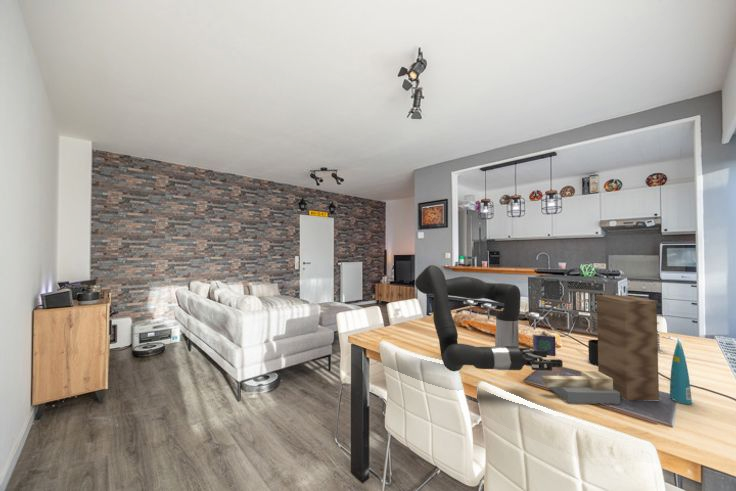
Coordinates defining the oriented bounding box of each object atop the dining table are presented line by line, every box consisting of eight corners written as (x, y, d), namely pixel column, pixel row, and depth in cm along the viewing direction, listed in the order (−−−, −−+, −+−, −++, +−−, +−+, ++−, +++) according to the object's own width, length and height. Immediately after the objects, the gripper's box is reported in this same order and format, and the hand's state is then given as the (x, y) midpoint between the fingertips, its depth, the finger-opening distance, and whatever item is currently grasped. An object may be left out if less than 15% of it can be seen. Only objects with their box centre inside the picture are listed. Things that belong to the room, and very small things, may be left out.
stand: (626, 401, 94) (624, 300, 94) (597, 383, 106) (595, 295, 107) (660, 401, 93) (658, 300, 94) (627, 384, 106) (625, 295, 107)
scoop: (549, 389, 95) (549, 378, 95) (539, 380, 101) (539, 370, 101) (613, 389, 94) (612, 378, 94) (598, 381, 100) (598, 371, 100)
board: (568, 403, 92) (568, 392, 92) (549, 388, 102) (549, 378, 102) (620, 404, 92) (620, 392, 92) (596, 389, 102) (596, 379, 102)
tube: (668, 394, 98) (666, 336, 99) (689, 398, 95) (687, 339, 96) (671, 402, 93) (669, 341, 93) (694, 408, 90) (692, 344, 90)
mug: (629, 368, 121) (628, 345, 121) (600, 368, 121) (600, 346, 121) (609, 359, 130) (609, 339, 131) (583, 360, 130) (582, 339, 130)
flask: (533, 354, 138) (533, 331, 138) (532, 352, 141) (532, 329, 141) (556, 356, 135) (556, 332, 135) (554, 354, 138) (554, 331, 138)
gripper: (495, 361, 105) (542, 361, 104) (514, 378, 91) (567, 379, 90) (495, 340, 105) (541, 340, 104) (514, 354, 91) (567, 354, 90)
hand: (553, 358), depth 97 cm, fingers open, 8 cm apart
